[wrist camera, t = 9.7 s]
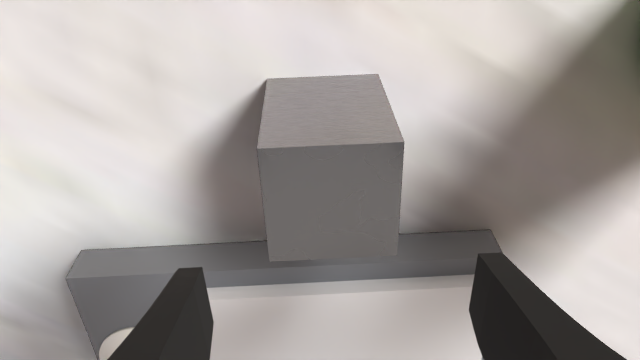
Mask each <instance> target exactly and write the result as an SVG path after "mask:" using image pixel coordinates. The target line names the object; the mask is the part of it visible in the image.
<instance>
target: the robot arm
mask: <svg viewBox="0 0 640 360" xmlns="http://www.w3.org/2000/svg"><path fill="white" fill-rule="evenodd" d="M469 313H470V317H471V321H472V325H473V329H474V332H475V336H476V340H477V343H478V346H479V349H480V352H481V354H482V357H483V359H484V360H626V359H625V358H624V357H622V356H621V355H619V354H618V353H617V352H615V351H614V350H612V349H611V348H609V347H608V346H607V345H605V344H604V343H603V342H601V341H600V340H599V339H598V338H596V337H595V336H594V335H593V334H591V333H590V332H589V331H588V330H586V329H585V328H584V327H583V326H581V325H580V324H579V323H578V322H576V321H575V320H574V319H573V318H572V317H570V316H569V315H568V314H567V313H566V312H565V311H563V310H562V309H561V308H560V307H559V306H558V305H557V304H556V303H554V302H553V301H552V300H551V299H550V298H549V297H548V296H547V295H546V294H545V293H543V292H542V291H541V290H540V289H539V288H538V287H537V286H536V285H535V284H534V283H533V282H532V281H531V280H530V279H529V278H528V277H527V276H525V275H524V274H523V273H522V272H521V271H520V270H519V269H518V268H517V267H516V266H515V265H514V264H513V263H512V262H511V261H510V260H509V259H508V258H507V257H506V256H505V255H504V254H503V253H501V252H499V253H478V257H477V263H476V269H475V275H474V281H473V287H472V292H471V298H470V304H469ZM213 325H214V321H213V316H212V312H211V307H210V302H209V297H208V292H207V287H206V282H205V278H204V273H203V268H202V267H192V268H179V269H178V270H177V271H176V272H175V273H174V274H173V276H172V277H171V279H170V280H169V282H168V283H167V284H166V286H165V287H164V289H163V290H162V291H161V293H160V294H159V296H158V297H157V298H156V300H155V301H154V302H153V304H152V305H151V307H150V308H149V309H148V311H147V312H146V313H145V314H144V316H143V317H142V318H141V320H140V321H139V322H138V323H137V325H136V326H135V327H134V329H133V330H132V331H131V332H130V334H129V335H128V336H127V337H126V338H125V339H124V341H123V342H122V343H121V344H120V345H119V346H118V348H117V349H116V350H115V351H114V352H113V353H112V355H111V356H110V357H109V358H108V359H107V360H210V353H211V344H212V335H213Z"/></svg>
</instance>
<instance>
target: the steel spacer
mask: <svg viewBox="0 0 640 360" xmlns="http://www.w3.org/2000/svg"><path fill="white" fill-rule="evenodd" d="M257 154H258V163H259V172H260V181H261V190H262V199H263V208H264V217H265V226H266V236H267V245H268V254H269V262H276V261H296V260H317V259H337V258H358V257H378V256H397V251H398V235H399V219H400V203H401V187H402V170H403V154H404V140H403V137H402V135H401V132H400V130H399V127H398V124H397V122H396V119H395V117H394V114H393V111H392V109H391V106H390V104H389V101H388V98H387V96H386V93H385V91H384V88H383V85H382V83H381V80H380V78H379V75H378V74H366V75H343V76H320V77H297V78H274V79H267V83H266V89H265V96H264V103H263V110H262V117H261V124H260V131H259V138H258V145H257Z"/></svg>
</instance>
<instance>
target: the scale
mask: <svg viewBox="0 0 640 360" xmlns="http://www.w3.org/2000/svg"><path fill="white" fill-rule="evenodd" d="M499 252H501V253H502V251H501V249H500V247H499V245H498V243H497V241H496V239H495V237H494V235H493V234H492V232H491V230H479V231H459V232H439V233H419V234H399V235H398V251H397V256H378V257H358V258H337V259H317V260H296V261H276V262H269V254H268V245H267V241H257V242H237V243H217V244H197V245H177V246H157V247H136V248H116V249H96V250H81V252H80V254H79V256H78V257H77V259H76V261H75V263H74V265H73V266H72V268H71V270H70V272H69V273H68V275H67V277H66V281H67V283H68V286H69V288H70V291H71V293H72V296H73V298H74V301H75V303H76V306H77V308H78V311H79V313H80V316H81V318H82V321H83V323H84V326H85V328H86V331H87V333H88V336H89V339H90V341H91V344H92V346H93V349H94V351H95V354H96V356H97V359H98V360H107V359H108V358H109V357H110V356H111V355H112V353H113V352H114V351H115V350H116V349H117V348H118V346H119V345H120V344H121V343H122V342H123V341H124V339H125V338H126V337H127V336H128V335H129V334H130V332H131V331H132V330H133V329H134V327H135V326H136V325H137V323H138V322H139V321H140V320H141V318H142V317H143V316H144V314H145V313H146V312H147V311H148V309H149V308H150V307H151V305H152V304H153V302H154V301H155V300H156V298H157V297H158V296H159V294H160V293H161V291H162V290H163V289H164V287H165V286H166V284H167V283H168V282H169V280H170V279H171V277H172V276H173V274H174V273H175V272H176V271H177V270H178V269H179V268H192V267H202V268H203V273H204V278H205V282H206V287H207V292H208V297H209V302H210V307H211V312H212V316H213V321H214V325H213V335H212V344H211V353H210V360H484V359H483V357H482V354H481V352H480V349H479V346H478V343H477V340H476V336H475V332H474V329H473V325H472V321H471V317H470V313H469V304H470V298H471V292H472V287H473V281H474V275H475V269H476V263H477V257H478V253H499Z"/></svg>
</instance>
